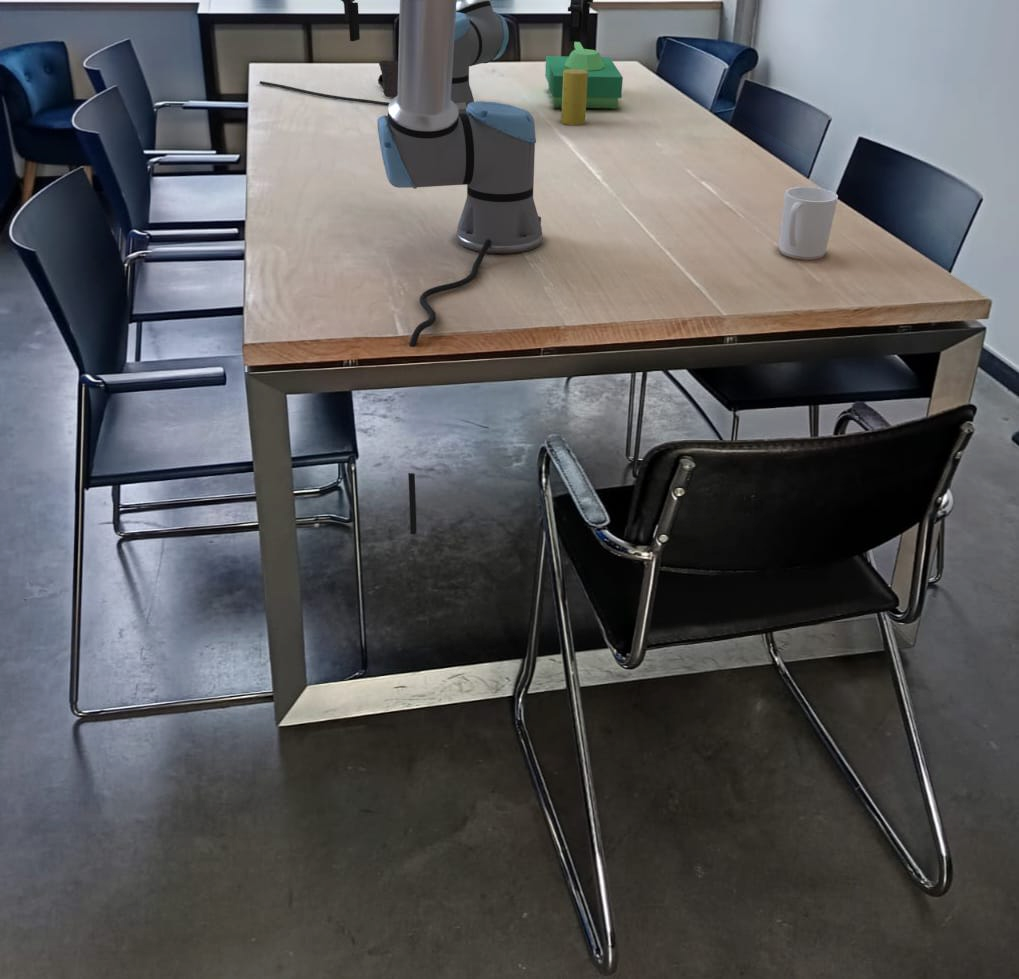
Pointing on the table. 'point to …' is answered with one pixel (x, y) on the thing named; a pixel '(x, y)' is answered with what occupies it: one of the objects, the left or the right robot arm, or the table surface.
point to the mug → (806, 222)
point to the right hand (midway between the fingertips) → (387, 42)
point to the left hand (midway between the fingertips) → (578, 36)
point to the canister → (574, 96)
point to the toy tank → (601, 77)
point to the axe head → (389, 78)
